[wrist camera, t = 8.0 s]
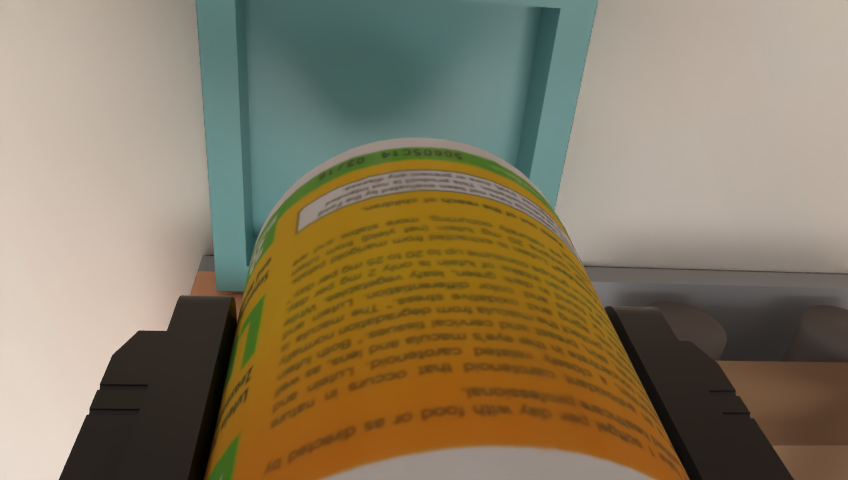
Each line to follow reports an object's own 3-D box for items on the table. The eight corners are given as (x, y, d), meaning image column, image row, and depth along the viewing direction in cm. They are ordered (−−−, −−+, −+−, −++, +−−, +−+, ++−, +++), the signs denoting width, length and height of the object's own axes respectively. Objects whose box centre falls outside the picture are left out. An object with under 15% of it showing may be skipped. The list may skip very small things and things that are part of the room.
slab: (868, 306, 22) (1005, 439, 17) (795, 453, 25) (893, 598, 21) (617, 300, 21) (692, 439, 16) (574, 454, 24) (626, 605, 20)
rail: (876, 275, 23) (1019, 403, 18) (798, 432, 27) (900, 574, 22) (202, 255, 21) (156, 398, 16) (217, 431, 24) (182, 593, 19)
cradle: (578, -44, 17) (603, -27, 15) (521, 259, 22) (536, 298, 20) (208, -74, 16) (191, -60, 14) (227, 250, 21) (216, 290, 19)
